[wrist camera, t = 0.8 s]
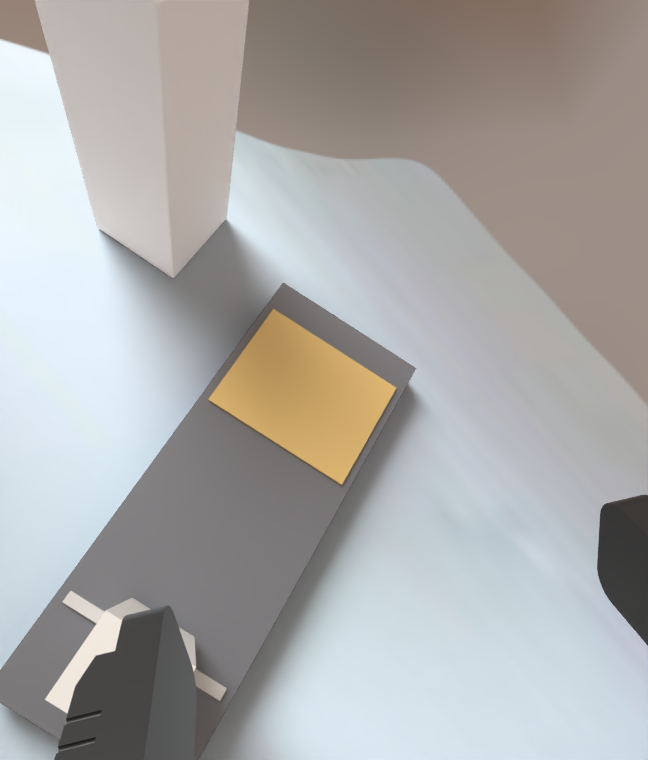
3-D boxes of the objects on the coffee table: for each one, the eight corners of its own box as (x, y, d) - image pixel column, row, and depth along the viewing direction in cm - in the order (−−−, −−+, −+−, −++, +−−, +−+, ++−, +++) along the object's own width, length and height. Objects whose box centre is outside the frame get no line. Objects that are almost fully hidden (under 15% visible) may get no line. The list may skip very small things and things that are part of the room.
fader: (92, 657, 26) (44, 699, 18) (132, 597, 27) (105, 610, 19) (157, 697, 26) (141, 759, 18) (194, 636, 27) (196, 667, 19)
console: (-2, 684, 27) (-18, 693, 25) (278, 297, 37) (283, 281, 35) (172, 792, 27) (170, 810, 25) (404, 378, 37) (417, 367, 35)
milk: (227, 219, 38) (275, -179, 18) (172, 281, 36) (155, -96, 16) (153, 168, 38) (116, -290, 18) (93, 227, 36) (-28, -223, 15)
